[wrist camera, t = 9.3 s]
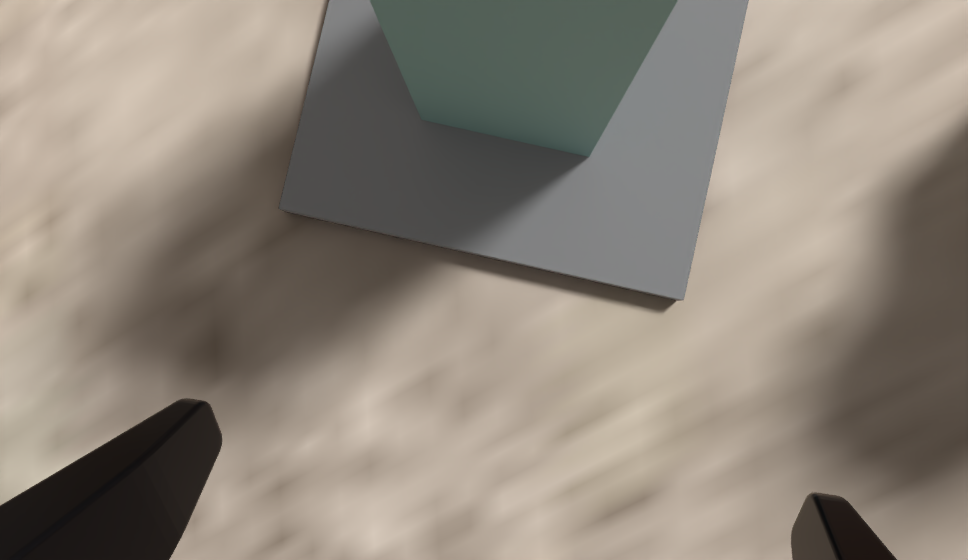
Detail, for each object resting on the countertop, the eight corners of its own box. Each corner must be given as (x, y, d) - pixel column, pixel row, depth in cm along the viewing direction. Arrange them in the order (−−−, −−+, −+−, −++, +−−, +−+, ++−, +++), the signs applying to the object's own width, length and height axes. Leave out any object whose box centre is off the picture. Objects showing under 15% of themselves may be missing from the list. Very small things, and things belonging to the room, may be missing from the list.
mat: (677, 300, 18) (683, 300, 17) (285, 211, 18) (278, 208, 18) (761, -88, 18) (770, -101, 18) (377, -164, 19) (372, -180, 18)
